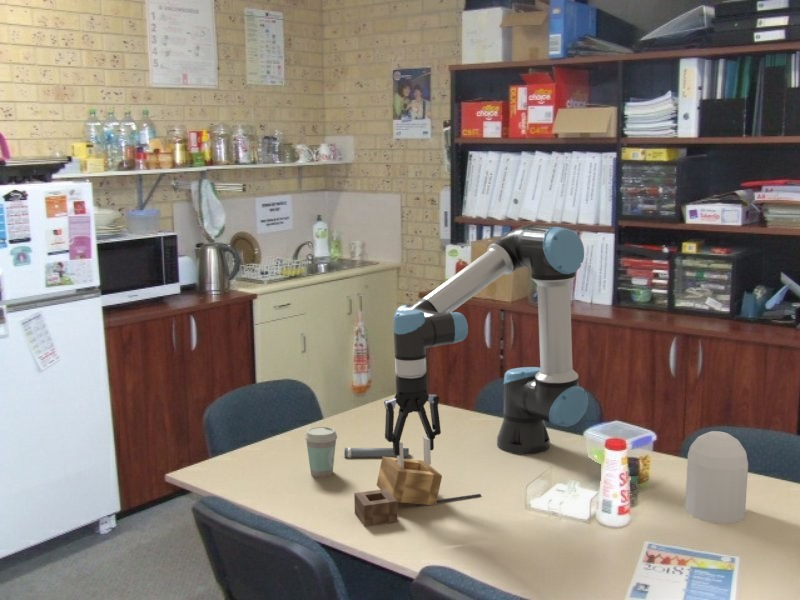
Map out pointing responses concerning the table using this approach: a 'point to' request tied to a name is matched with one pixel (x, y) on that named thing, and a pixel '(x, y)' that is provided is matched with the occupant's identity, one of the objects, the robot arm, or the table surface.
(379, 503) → the bead dark
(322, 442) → the coffee cup
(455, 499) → the grey long thin rod
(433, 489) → the light wooden square box
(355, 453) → the gray tube
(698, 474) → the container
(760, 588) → the table surface
